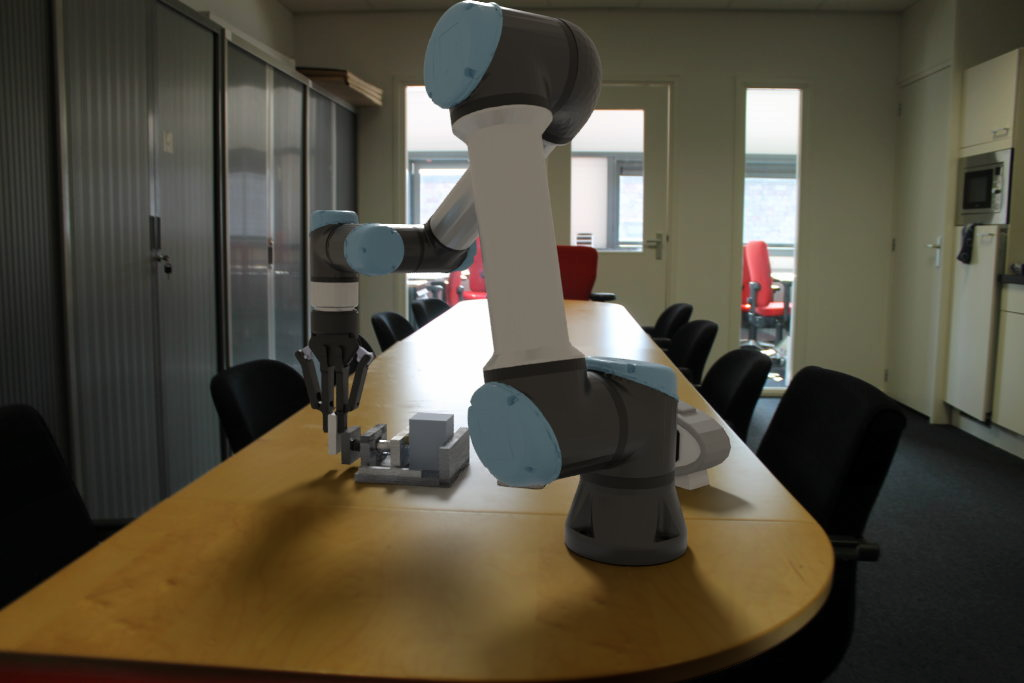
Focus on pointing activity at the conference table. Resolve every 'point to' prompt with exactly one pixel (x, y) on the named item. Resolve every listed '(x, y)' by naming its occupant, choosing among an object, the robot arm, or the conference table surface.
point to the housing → (428, 439)
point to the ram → (395, 447)
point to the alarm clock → (697, 446)
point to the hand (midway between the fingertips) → (335, 452)
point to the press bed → (380, 471)
